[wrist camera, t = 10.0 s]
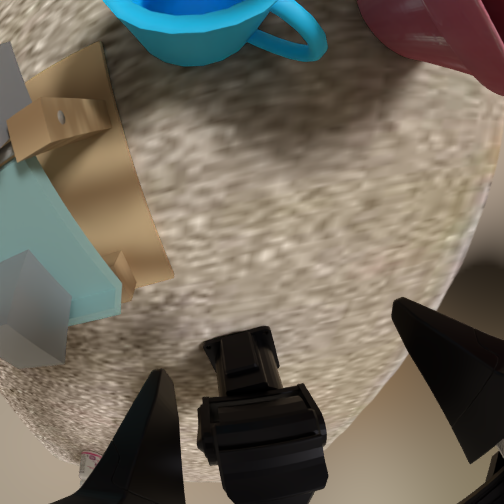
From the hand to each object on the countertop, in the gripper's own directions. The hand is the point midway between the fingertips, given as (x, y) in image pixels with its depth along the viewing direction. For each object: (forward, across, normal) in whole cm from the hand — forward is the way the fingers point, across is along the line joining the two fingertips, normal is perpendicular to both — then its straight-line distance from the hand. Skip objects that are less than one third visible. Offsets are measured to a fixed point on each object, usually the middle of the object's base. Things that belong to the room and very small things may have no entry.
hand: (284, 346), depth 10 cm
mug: (+13, -2, -14) cm, 19 cm away
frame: (+12, +15, -6) cm, 20 cm away
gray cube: (+7, +15, -2) cm, 17 cm away
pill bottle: (+13, +39, +37) cm, 55 cm away
